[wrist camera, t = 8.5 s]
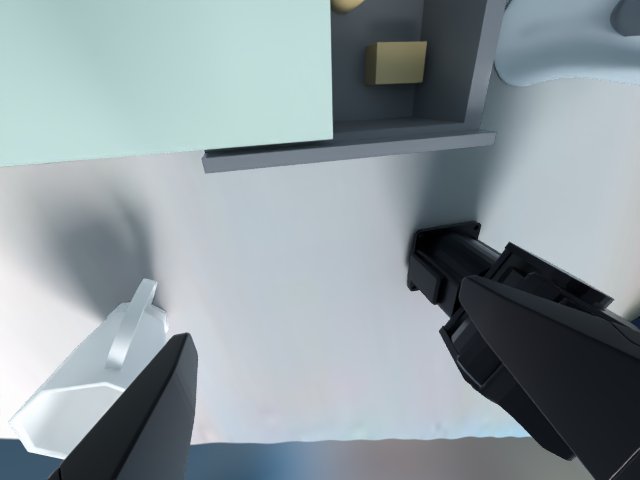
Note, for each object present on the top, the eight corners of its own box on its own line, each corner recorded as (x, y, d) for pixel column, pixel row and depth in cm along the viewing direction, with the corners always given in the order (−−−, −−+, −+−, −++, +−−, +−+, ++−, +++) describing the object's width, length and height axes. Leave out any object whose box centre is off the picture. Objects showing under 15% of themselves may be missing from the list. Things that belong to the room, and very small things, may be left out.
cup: (77, 346, 22) (-1, 464, 15) (105, 240, 19) (23, 326, 12) (173, 359, 25) (146, 463, 18) (211, 269, 21) (195, 352, 15)
